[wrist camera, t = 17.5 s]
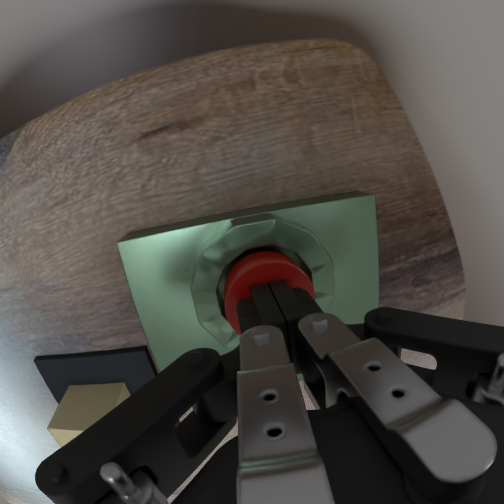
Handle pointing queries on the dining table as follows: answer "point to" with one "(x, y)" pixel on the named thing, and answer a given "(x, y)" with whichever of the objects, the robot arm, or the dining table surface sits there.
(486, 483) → the robot arm
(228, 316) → the switch
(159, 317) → the switch base
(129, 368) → the mat
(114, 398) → the block
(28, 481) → the dining table surface
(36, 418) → the dining table surface
